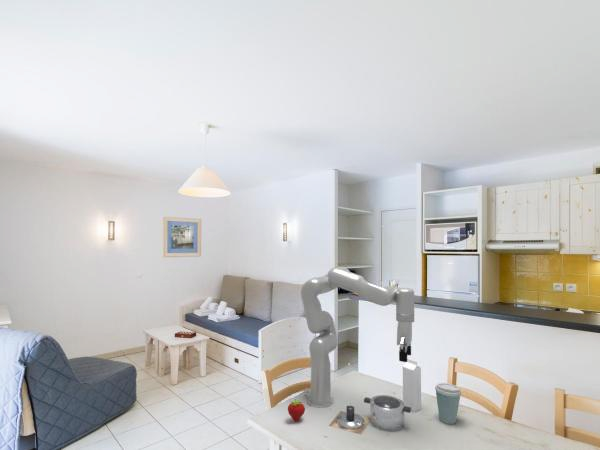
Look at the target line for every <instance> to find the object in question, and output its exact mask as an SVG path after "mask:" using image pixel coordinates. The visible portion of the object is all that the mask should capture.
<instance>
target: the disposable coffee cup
mask: <svg viewBox="0 0 600 450" xmlns="http://www.w3.org/2000/svg"><path fill="white" fill-rule="evenodd" d="M434 390H435V395H436V403H437V410H438V412H437V413H438V418H439V420H440V421H441V422H443V423H444V424H447V425H454V424H456V421H457V417H458V410H459V406H460V400H461V395H462V390H461V388H460V387H459V386H457V385H455V384H452V383H448V382H439V383H436V385H435V387H434Z"/></svg>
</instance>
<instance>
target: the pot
mask: <svg viewBox="0 0 600 450" xmlns="http://www.w3.org/2000/svg"><path fill="white" fill-rule="evenodd" d="M363 403H366V404H369V405H370V408H369V410H370V411H369V412H370V413H369V416H370V417H369V418H370V421H369V422H370V424H371V425H372V427H374V428H376V429H378V430H379V431H383V432H387V433H388V432H389V433H395V432H397V433H398V432H399V431H403V430H404V429H405V413H407V414H411V413H412V411H411V407H406V406H404V403H403V400H401V399H400V398H397V397H396V396H392V395H387V394H380V395H375V396H373V397H371V398H370V397H364V399H363Z"/></svg>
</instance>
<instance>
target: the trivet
mask: <svg viewBox="0 0 600 450" xmlns="http://www.w3.org/2000/svg"><path fill="white" fill-rule="evenodd" d="M341 413H346V411H342V410H340V411H339V413H337V415H336V416H335V417H334V419H333V420H332V421H331V422H330V423H329V425H328V426H329V427H333V428H337V429H340V430H344V431H348V432H351V433H354V434H357V435H358V434H359V435H362V434H363V432H364V431H365V429H366V428H367V426H368V424H369V422H370V417H366V416H362V415H361V416H362V417H363V418H364V420H365V424H364V426H363V427H362V428H360V429H354V430H351V429H345V428H343V427H341V426H339V425H338V424H337V422H336V418H337V416H338V415H339V414H341Z"/></svg>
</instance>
